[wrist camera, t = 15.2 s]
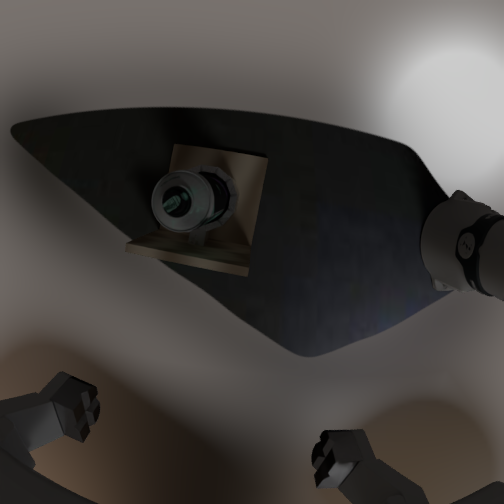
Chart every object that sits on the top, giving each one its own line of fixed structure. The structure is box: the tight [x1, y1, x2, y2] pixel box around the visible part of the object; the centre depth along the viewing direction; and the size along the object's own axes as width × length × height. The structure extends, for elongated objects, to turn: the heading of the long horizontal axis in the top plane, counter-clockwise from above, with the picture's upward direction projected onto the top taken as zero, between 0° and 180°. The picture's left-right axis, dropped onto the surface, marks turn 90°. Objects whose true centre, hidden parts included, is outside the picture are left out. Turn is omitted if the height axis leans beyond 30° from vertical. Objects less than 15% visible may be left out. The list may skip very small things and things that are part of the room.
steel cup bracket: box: [188, 165, 240, 246], centre depth 37 cm, size 8×10×6 cm
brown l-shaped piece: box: [125, 144, 268, 277], centre depth 35 cm, size 14×14×13 cm
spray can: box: [151, 170, 231, 232], centre depth 30 cm, size 6×6×20 cm
